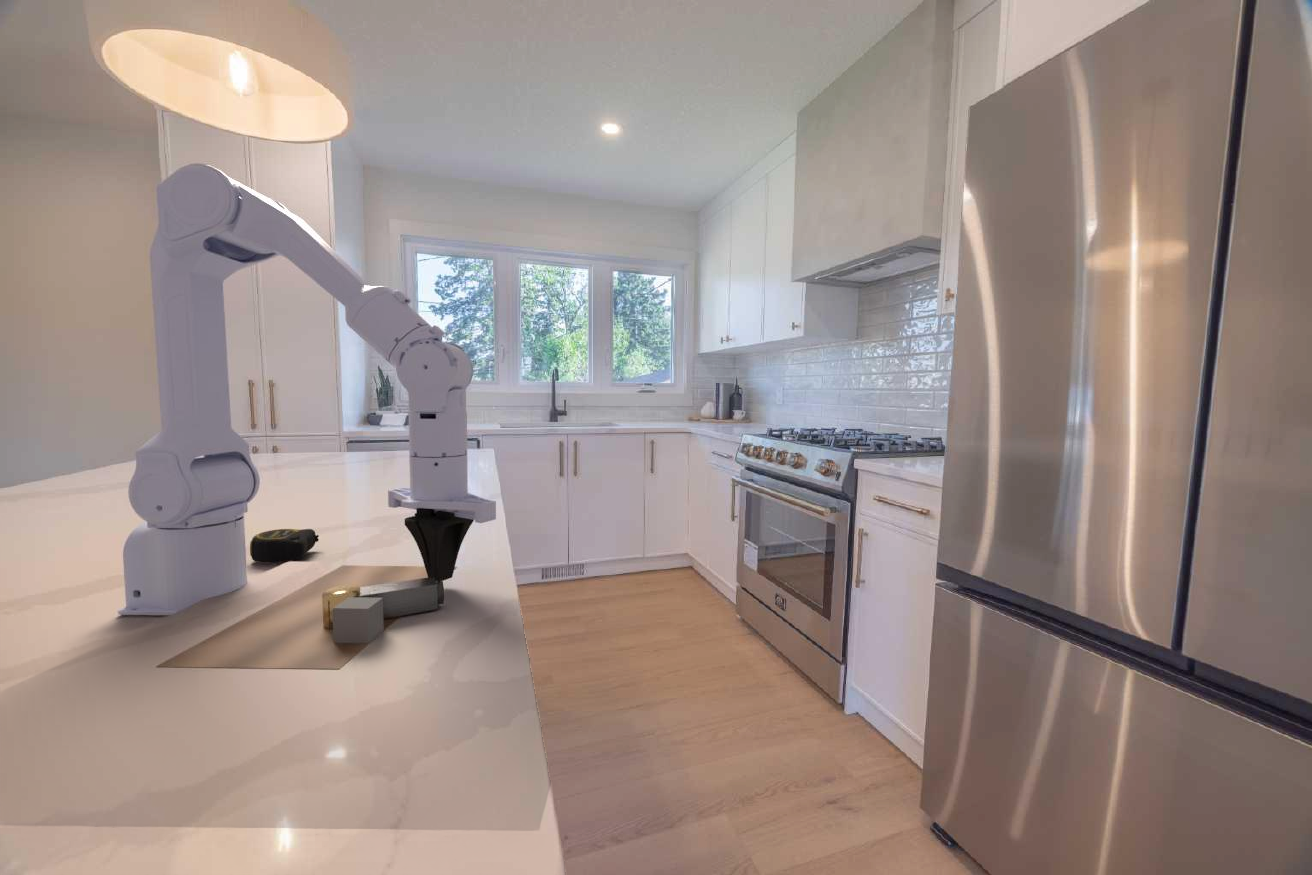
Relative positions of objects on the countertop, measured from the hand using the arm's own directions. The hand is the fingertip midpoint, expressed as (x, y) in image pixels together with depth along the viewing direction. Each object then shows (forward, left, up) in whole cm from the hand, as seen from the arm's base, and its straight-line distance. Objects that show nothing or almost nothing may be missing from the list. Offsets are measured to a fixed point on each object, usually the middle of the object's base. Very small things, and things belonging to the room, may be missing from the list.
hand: (440, 578), depth 56 cm
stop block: (-2, -11, -1) cm, 12 cm away
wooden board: (-8, -5, -3) cm, 10 cm away
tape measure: (-27, +15, -3) cm, 30 cm away
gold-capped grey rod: (-2, -7, -1) cm, 7 cm away
